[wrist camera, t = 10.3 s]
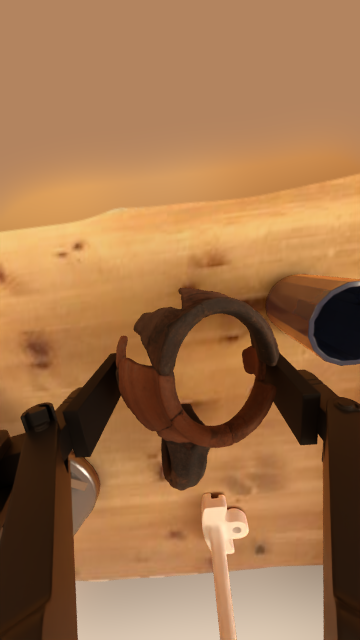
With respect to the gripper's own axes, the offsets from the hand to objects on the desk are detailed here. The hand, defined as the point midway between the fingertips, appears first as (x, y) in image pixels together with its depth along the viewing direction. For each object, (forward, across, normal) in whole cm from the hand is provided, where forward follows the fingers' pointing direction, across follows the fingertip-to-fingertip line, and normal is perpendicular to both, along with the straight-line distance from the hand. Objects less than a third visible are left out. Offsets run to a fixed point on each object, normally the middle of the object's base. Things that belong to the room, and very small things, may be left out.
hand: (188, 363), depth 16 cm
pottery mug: (0, 0, 0) cm, 0 cm away
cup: (+13, +14, +1) cm, 19 cm away
